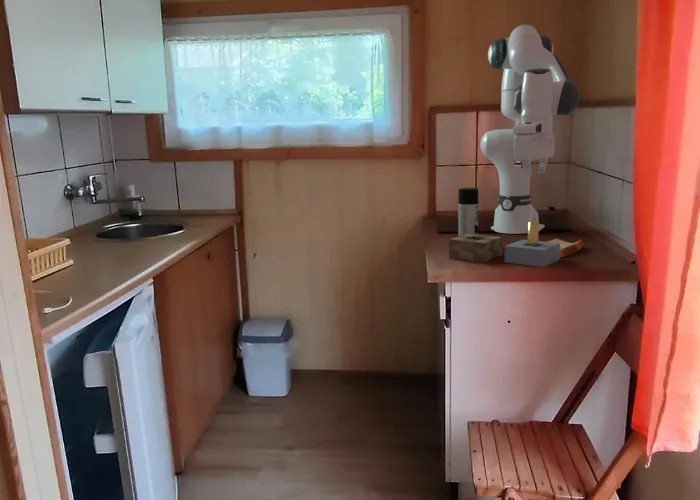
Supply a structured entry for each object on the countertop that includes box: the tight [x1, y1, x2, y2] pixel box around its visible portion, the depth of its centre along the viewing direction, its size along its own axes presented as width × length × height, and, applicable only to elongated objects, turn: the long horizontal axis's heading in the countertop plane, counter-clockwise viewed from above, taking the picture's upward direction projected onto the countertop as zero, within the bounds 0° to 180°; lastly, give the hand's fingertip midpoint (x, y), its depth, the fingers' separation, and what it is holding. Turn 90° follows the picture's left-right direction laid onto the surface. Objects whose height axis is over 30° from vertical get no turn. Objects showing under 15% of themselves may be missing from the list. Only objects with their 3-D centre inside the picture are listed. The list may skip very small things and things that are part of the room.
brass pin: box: [527, 220, 540, 247], centre depth 173 cm, size 3×3×12 cm
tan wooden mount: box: [448, 233, 503, 263], centre depth 182 cm, size 12×12×6 cm
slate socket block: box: [504, 239, 561, 268], centre depth 174 cm, size 12×12×5 cm
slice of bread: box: [545, 238, 584, 258], centre depth 186 cm, size 18×18×4 cm
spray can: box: [457, 187, 479, 237], centre depth 197 cm, size 7×7×20 cm
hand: (534, 174), depth 169 cm, fingers open, 8 cm apart
